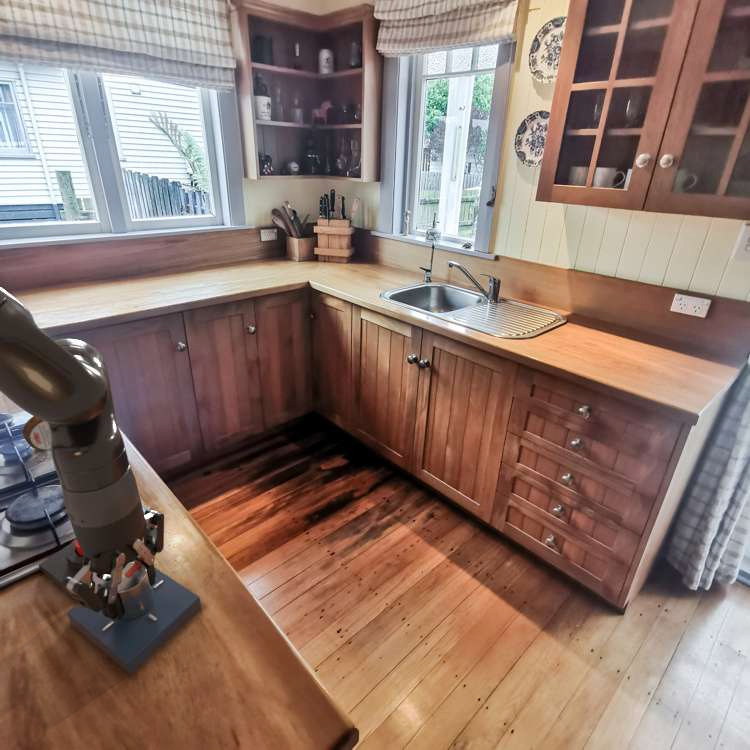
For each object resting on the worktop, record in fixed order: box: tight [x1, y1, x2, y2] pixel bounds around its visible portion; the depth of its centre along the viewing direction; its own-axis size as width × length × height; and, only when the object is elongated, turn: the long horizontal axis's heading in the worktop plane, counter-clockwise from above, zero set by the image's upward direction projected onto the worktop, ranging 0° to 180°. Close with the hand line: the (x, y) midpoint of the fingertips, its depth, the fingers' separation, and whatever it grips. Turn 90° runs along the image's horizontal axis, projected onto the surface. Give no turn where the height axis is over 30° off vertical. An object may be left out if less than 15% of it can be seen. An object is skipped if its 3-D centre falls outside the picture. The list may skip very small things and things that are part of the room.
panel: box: [66, 560, 202, 676], centre depth 64 cm, size 13×11×3 cm
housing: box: [38, 538, 144, 595], centre depth 72 cm, size 10×11×4 cm
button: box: [75, 538, 84, 556], centre depth 71 cm, size 4×4×2 cm
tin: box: [22, 415, 51, 452], centre depth 100 cm, size 15×3×8 cm, turn 135°
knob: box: [117, 560, 154, 620], centre depth 62 cm, size 5×5×6 cm
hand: (132, 598), depth 63 cm, fingers closed on knob, 5 cm apart
